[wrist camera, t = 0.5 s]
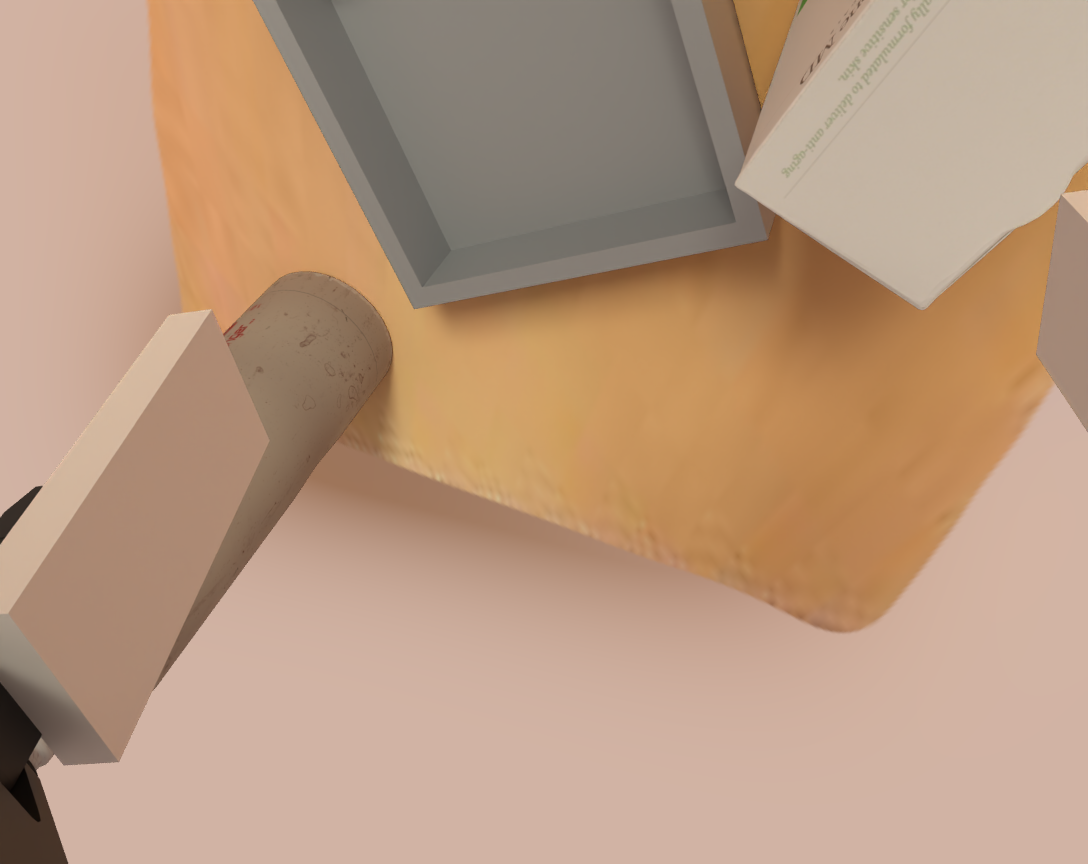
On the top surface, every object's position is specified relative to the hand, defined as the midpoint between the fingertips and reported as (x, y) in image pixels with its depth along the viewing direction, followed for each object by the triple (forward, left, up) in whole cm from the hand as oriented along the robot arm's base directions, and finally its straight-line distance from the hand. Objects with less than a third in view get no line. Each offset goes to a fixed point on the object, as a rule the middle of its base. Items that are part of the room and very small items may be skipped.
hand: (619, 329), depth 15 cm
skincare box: (-4, +2, -26) cm, 27 cm away
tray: (+12, +1, -26) cm, 28 cm away
